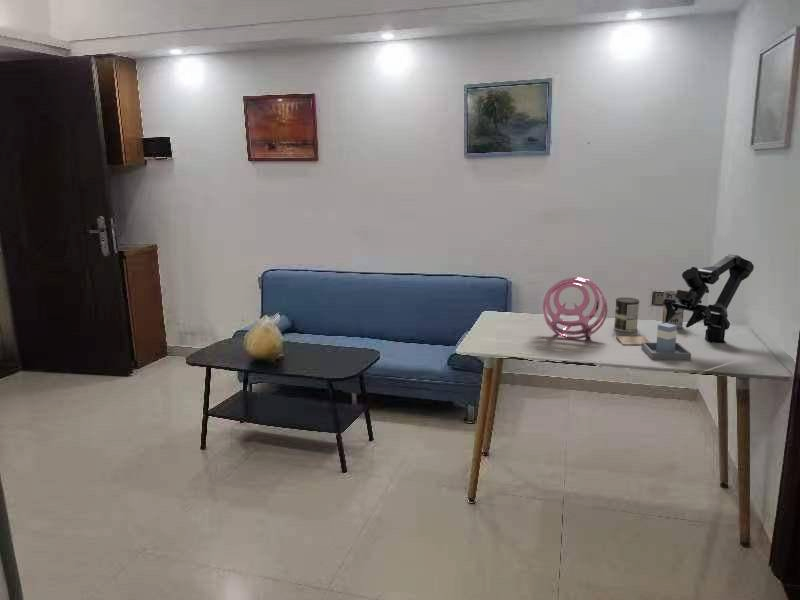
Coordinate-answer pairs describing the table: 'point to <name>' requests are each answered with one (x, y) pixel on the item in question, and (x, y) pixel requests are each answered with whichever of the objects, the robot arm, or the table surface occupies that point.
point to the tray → (678, 355)
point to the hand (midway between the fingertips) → (676, 324)
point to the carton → (666, 338)
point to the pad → (631, 340)
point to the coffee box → (678, 316)
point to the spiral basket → (577, 311)
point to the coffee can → (626, 314)
